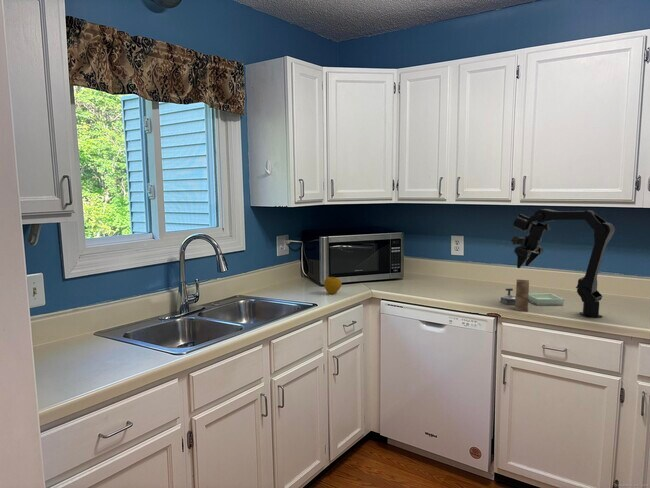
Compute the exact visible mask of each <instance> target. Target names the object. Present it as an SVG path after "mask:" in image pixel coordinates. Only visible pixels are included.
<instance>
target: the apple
mask: <svg viewBox="0 0 650 488" xmlns="http://www.w3.org/2000/svg"><path fill="white" fill-rule="evenodd" d="M323 287H324V289H325V291H326V292H327V293H328V295H335V294H337V293H338V292H339V291H340V289H341V287H342V281H341V279H340V278H339V277H336V276H329V277H326V278H325V279H324V280H323Z"/></svg>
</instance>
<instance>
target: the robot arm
mask: <svg viewBox="0 0 650 488" xmlns="http://www.w3.org/2000/svg"><path fill="white" fill-rule="evenodd" d="M557 220H561V221H565V220H566V221H567V220H569V221H573V220H575V221H580V220H583V221H585V222H586V223H587V224H588V225H589V226H590V228H591V229H593V242H594V243H593V246H592V247H593V248H592V251H591V254H590V258H589V261H588V264H587V268H586V272H585V274H584V276H583V277H580V278H579V279H578V280H577V286H576V287H575V288H576V293H577V294H578V296H579V297H580V299H581V302H582V303H583V304H582V312H581V311H579V313H578V314H579V315H582V316H584V317H586V318H603V315H601V314H600V313H599V312H600V301H601V300H602V299H603V295H602V294H601V293H600V291H599V290H598V275H599V270H600V267H601V265H602V261H603V258H604V254H605V252H606V247H607V245H608V244H609V242H610V241H611V239H612V237H613V235H614V233H615V231H616V228H615V226H614V225H613V224H612V223H611V222H607V221H606V220H605V219H604V218H603V217H601V216H599V215H598V214H597V213H595V211H594V210H571V211H570V210H565V211H564V210H555V209H548V208H544V209H542V208H541V209H537V210H536V211H535V212H534V214H533V215H531V216H530V217H529V216H527V215H525V214H523V213H519V214H518V216H517V217H516V218H515V219H514V221H513V225H512V227H513V228H515V229H518V230H519V231H523V232H525V233H526V232H527V231H528V234H527V235H525V236H524V237H520V236H518V235H513V237H512V238H511V240H510V241H511V242H512V243H511V244H512V245H513V246H515V247H514V250H513V252H514V254H515V255H516V256H517V261H516V268H517V269H521V267H522V266H523V265H524V264H525V266H526V267H528V266H530V265H531V263H533V262H534V261H535V260H536V259H537V258H538V257H539V256H541V254H543V252H544V248H543V246H541V245H540V243H542V241H543V239H542V238H543V235H544V232H545V231H550V230H551V227H550V224H549V223H546V222H554V221H557ZM516 245H519V246H516Z"/></svg>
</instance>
